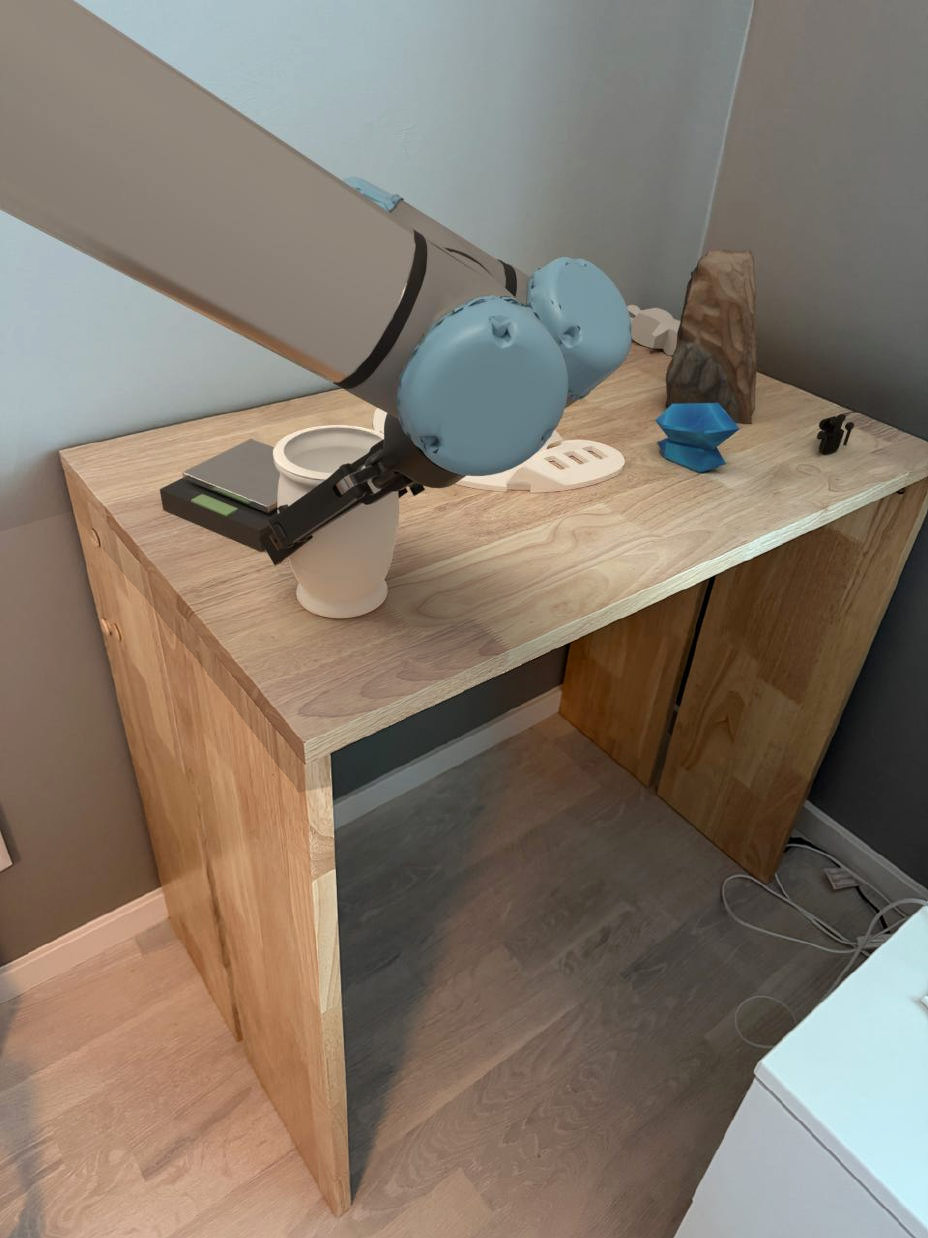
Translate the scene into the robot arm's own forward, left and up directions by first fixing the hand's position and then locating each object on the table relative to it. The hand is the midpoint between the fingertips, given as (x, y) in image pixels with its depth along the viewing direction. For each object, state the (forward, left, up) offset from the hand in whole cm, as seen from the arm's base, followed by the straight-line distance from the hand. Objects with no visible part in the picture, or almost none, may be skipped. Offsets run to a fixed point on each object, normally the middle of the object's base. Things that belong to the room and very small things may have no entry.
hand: (318, 527), depth 81 cm
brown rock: (+16, +65, -6) cm, 67 cm away
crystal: (+20, +47, -6) cm, 51 cm away
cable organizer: (-5, +37, -6) cm, 37 cm away
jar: (+3, 0, -6) cm, 7 cm away
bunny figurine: (-1, +85, -6) cm, 85 cm away
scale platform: (-15, +8, -3) cm, 17 cm away
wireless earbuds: (+33, +62, -6) cm, 70 cm away
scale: (-15, +8, -6) cm, 18 cm away
